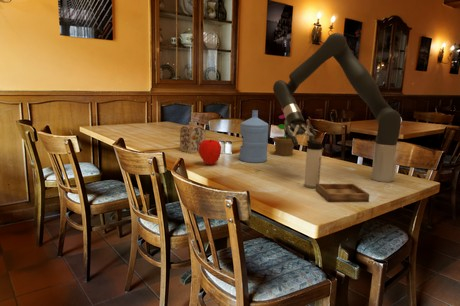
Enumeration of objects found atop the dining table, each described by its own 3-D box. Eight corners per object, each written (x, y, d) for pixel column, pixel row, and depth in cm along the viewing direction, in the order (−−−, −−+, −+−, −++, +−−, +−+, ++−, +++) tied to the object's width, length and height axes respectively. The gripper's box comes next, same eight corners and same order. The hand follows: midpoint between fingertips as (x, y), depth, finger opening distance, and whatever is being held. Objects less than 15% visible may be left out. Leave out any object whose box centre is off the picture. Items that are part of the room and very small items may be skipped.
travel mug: (301, 184, 157) (305, 139, 153) (316, 184, 158) (320, 139, 154) (305, 188, 151) (309, 141, 147) (320, 188, 152) (324, 142, 148)
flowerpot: (298, 154, 223) (302, 105, 217) (291, 158, 211) (294, 107, 205) (276, 151, 230) (279, 104, 224) (268, 155, 217) (271, 105, 211)
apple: (194, 164, 186) (194, 139, 184) (206, 160, 197) (206, 136, 194) (213, 168, 181) (214, 142, 178) (224, 163, 191) (225, 139, 189)
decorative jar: (179, 150, 223) (179, 121, 219) (194, 148, 230) (194, 120, 227) (190, 153, 214) (190, 123, 210) (205, 151, 222) (206, 122, 218)
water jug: (271, 159, 204) (274, 110, 199) (258, 164, 192) (260, 112, 186) (248, 155, 213) (250, 108, 207) (233, 160, 200) (235, 110, 195)
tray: (352, 190, 150) (353, 183, 150) (368, 201, 137) (369, 194, 136) (315, 190, 149) (316, 183, 148) (328, 201, 135) (329, 194, 134)
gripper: (283, 110, 160) (294, 140, 152) (310, 110, 165) (322, 139, 157) (276, 121, 166) (287, 150, 158) (303, 120, 171) (314, 148, 163)
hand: (305, 144), depth 158 cm, fingers open, 8 cm apart
